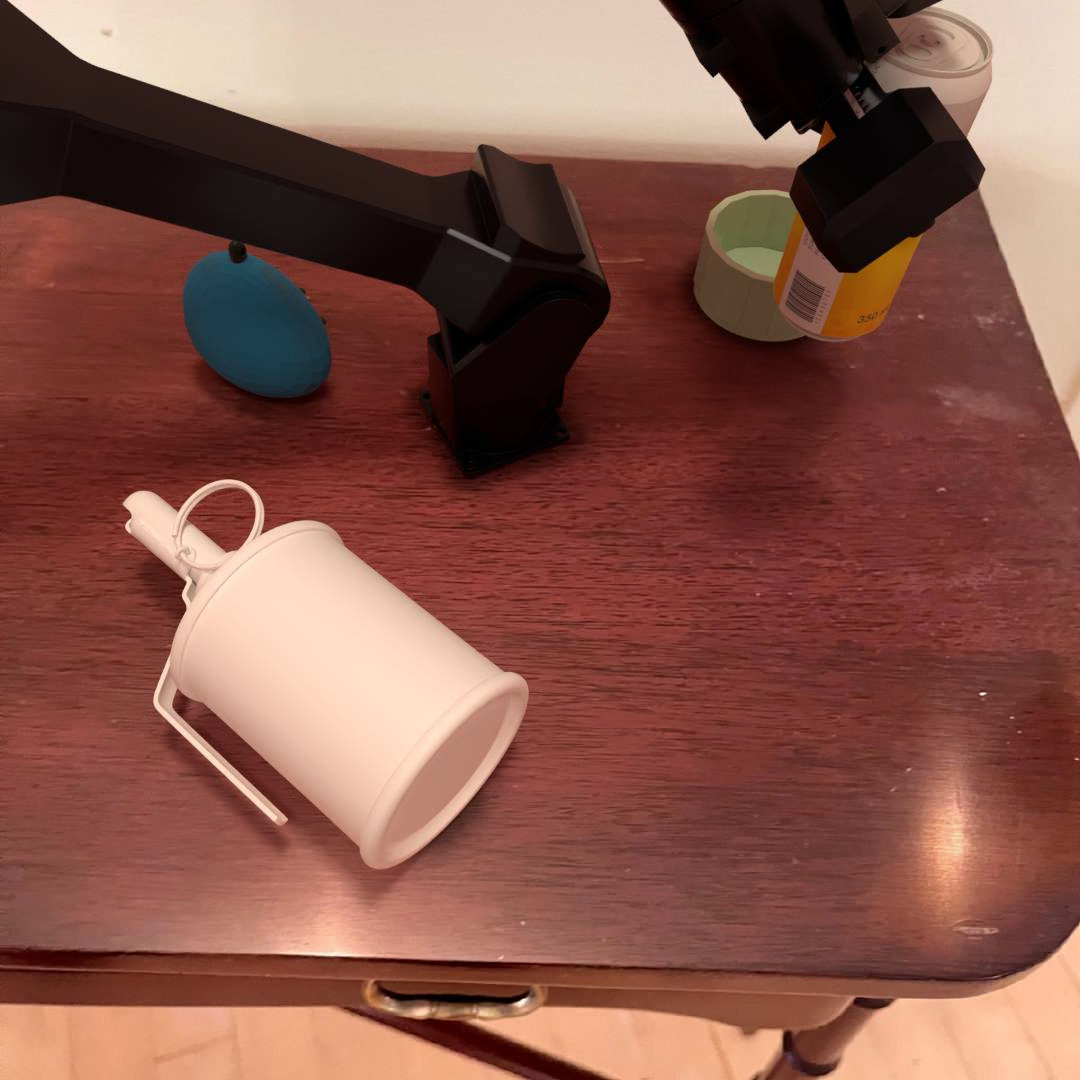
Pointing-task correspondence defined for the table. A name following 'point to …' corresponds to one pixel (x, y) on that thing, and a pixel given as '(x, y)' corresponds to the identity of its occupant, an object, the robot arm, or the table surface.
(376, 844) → the white smoke grenade
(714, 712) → the table surface
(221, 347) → the ornament
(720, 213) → the can holder
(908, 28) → the beer can
